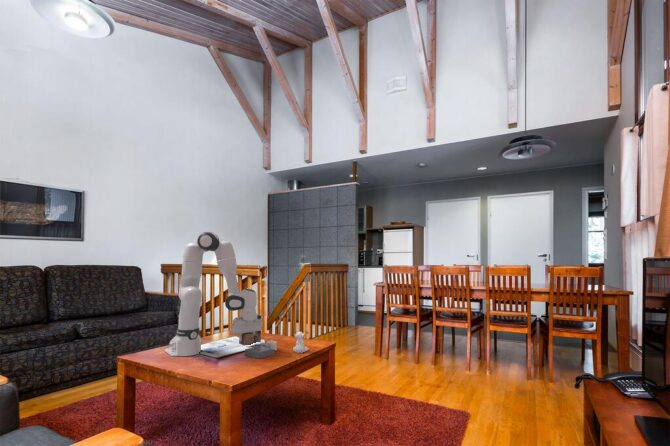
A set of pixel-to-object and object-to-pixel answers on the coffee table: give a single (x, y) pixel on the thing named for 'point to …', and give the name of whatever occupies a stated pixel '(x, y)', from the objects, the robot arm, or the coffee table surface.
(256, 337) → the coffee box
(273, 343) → the cream block
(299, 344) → the white creature statuette
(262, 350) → the base
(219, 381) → the coffee table surface
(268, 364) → the coffee table surface
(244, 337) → the walnut block
